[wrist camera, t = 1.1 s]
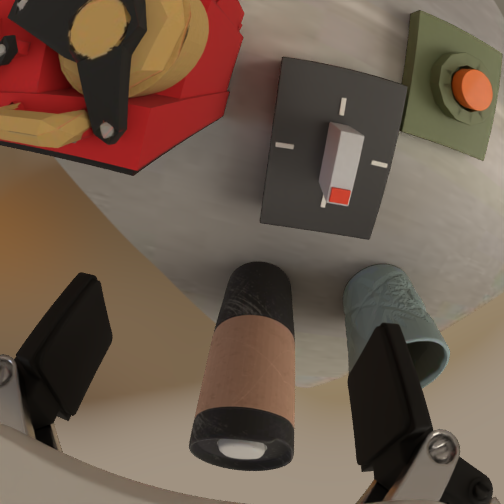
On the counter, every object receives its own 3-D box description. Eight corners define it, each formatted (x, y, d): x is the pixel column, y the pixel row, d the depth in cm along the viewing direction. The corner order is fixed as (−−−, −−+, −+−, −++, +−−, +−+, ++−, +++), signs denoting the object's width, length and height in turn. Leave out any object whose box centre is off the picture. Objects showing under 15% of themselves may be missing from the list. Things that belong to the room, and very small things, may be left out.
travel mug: (224, 306, 37) (189, 462, 20) (228, 254, 33) (183, 429, 16) (286, 315, 37) (282, 474, 20) (299, 264, 33) (307, 444, 16)
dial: (329, 121, 21) (341, 131, 17) (349, 125, 21) (365, 136, 17) (318, 181, 24) (326, 204, 20) (337, 185, 23) (349, 208, 19)
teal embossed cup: (418, 253, 31) (462, 328, 20) (409, 317, 36) (435, 391, 25) (333, 265, 32) (351, 351, 22) (336, 329, 37) (347, 409, 27)
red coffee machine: (258, 20, 20) (210, -104, 3) (226, 123, 25) (119, 216, 8) (103, 4, 19) (-64, -16, 2) (82, 95, 24) (-86, 153, 7)
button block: (410, 13, 18) (428, 6, 14) (490, 53, 17) (513, 54, 14) (393, 127, 24) (409, 135, 21) (472, 155, 24) (493, 166, 20)
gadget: (281, 60, 22) (282, 56, 18) (391, 84, 22) (408, 86, 18) (262, 205, 29) (259, 224, 26) (359, 220, 29) (369, 241, 26)
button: (454, 62, 17) (464, 62, 15) (484, 78, 17) (495, 79, 15) (448, 99, 19) (458, 102, 17) (478, 113, 19) (489, 117, 17)
